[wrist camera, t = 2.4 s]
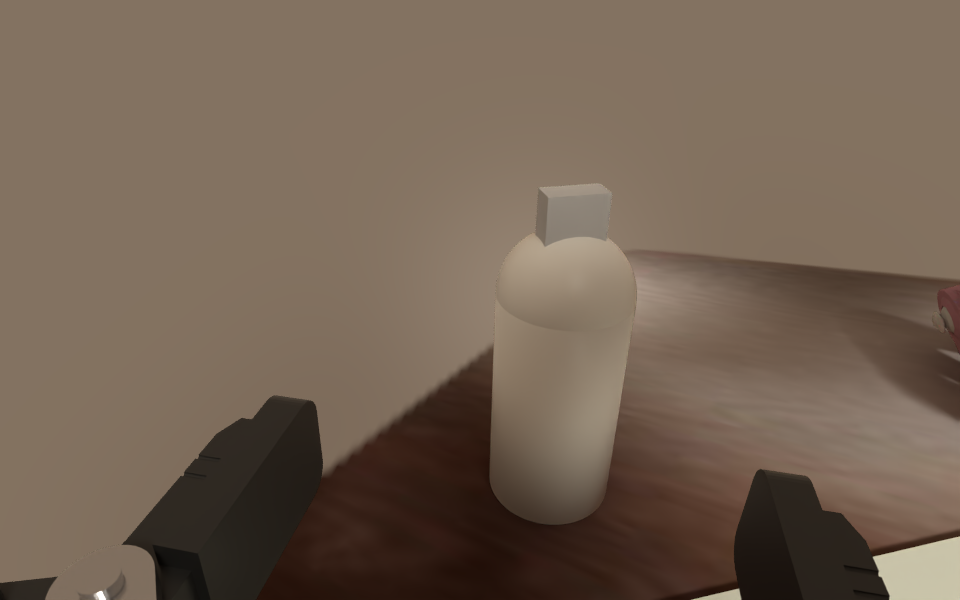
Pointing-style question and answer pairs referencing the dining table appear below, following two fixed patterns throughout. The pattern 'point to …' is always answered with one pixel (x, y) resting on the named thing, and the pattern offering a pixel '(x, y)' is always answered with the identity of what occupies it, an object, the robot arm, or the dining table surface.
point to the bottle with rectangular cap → (560, 358)
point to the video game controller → (949, 313)
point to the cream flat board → (910, 573)
